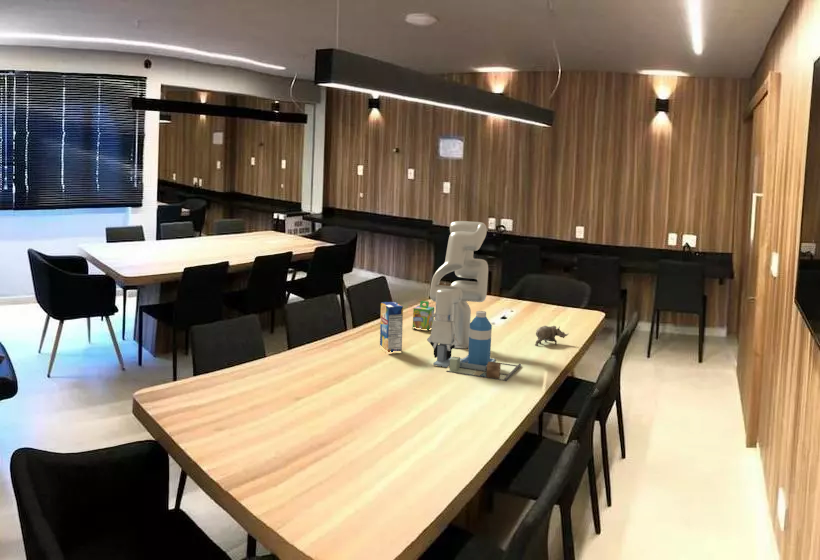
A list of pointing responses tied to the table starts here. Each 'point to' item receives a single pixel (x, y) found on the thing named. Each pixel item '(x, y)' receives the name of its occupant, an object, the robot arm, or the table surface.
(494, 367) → the walnut cube
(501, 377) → the lane rails
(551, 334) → the rhinoceros figurine
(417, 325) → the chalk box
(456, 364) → the strip
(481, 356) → the water bottle
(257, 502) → the table surface
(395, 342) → the beverage box
